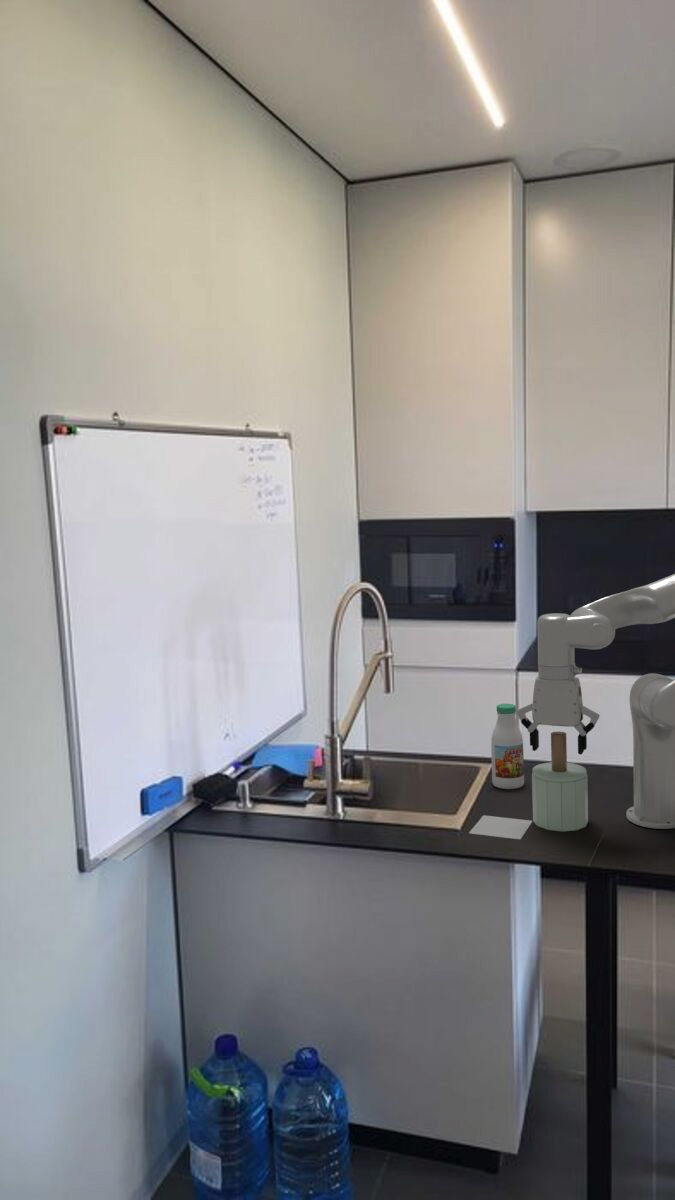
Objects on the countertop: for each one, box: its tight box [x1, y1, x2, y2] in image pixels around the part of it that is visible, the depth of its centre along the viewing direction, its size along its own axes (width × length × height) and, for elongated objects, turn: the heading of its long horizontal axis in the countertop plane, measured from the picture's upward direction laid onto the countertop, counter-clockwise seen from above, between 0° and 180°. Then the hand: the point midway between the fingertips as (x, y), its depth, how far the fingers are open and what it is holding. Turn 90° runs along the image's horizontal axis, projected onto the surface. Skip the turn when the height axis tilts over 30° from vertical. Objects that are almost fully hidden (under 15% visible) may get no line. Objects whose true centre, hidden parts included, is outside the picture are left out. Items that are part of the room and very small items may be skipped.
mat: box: [468, 815, 533, 840], centre depth 194 cm, size 11×11×1 cm
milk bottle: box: [490, 703, 525, 790], centre depth 222 cm, size 8×8×20 cm
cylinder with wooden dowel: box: [531, 731, 589, 832], centre depth 195 cm, size 11×11×20 cm
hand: (558, 750), depth 194 cm, fingers open, 9 cm apart
